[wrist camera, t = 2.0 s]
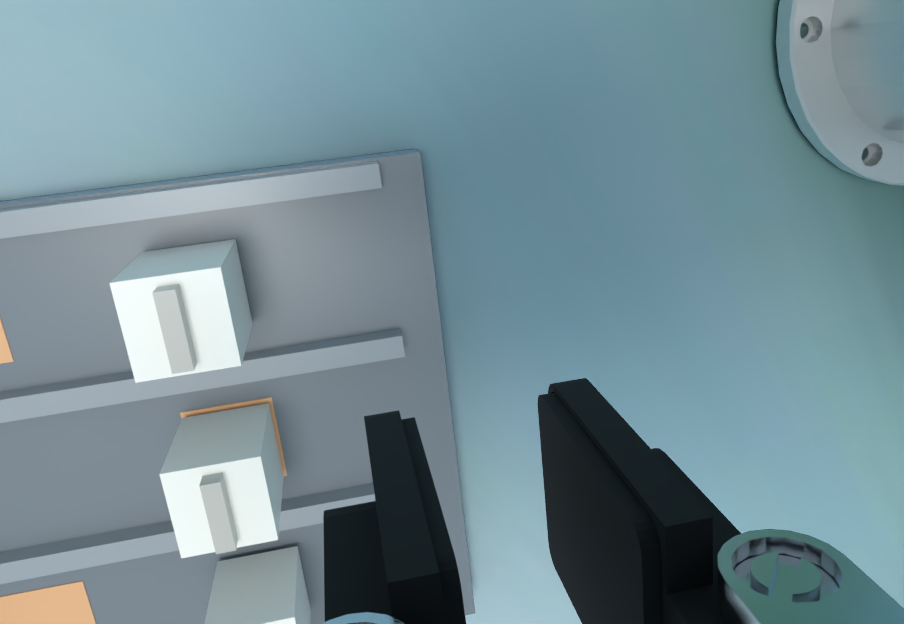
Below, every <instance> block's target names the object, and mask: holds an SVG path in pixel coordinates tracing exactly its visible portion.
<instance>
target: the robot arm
mask: <svg viewBox="0 0 904 624" xmlns="http://www.w3.org/2000/svg"><path fill="white" fill-rule="evenodd" d="M800 28H801V34H800ZM776 48H777V58H778V68H779V76H780V80H781V83H782V87H783V90H784V94H785V97H786V101H787V104H788V107H789V108H790V110H791V112H792V114H793V116H794V118H795V120H796V122H797V124H798V126H799V128H800V130H801V132H802V133H803V134H804V135H805V136H806V138H807V139H808V140H809V141H810V142H811V144H812V145H813V146H814V147H815V148H816V150H817V151H818V152H819V153H820V154H821V155H823V156H824V157H825V158H827V159H828V160H829V161H831V162H832V163H833V164H834V165H836V166H837V167H838V168H840V169H842V170H844V171H846V172H849V173H851V174H853V175H855V176H858V177H860V178H862V179H866V180H871V181H876V182H880V183H885V184H890V185H902V186H904V0H780V2H779V6H778V19H777V34H776ZM538 414H539V426H540V439H541V452H542V464H543V477H544V490H545V503H546V515H547V528H548V541H549V548H550V554H551V558H552V561H553V564H554V567H555V569H556V571H557V573H558V575H559V577H560V579H561V581H562V583H563V585H564V587H565V589H566V592H567V594H568V596H569V598H570V600H571V602H572V604H573V606H574V608H575V610H576V612H577V614H578V616H579V618H580V620H581V622H582V624H904V608H903V607H902V606H900V605H899V604H898V603H897V602H896V601H895V600H894V599H893V598H892V597H890V596H889V595H888V594H887V593H886V592H885V591H884V590H883V589H882V588H881V587H879V586H878V585H877V584H876V583H875V582H874V581H873V580H872V579H871V578H869V577H868V576H867V575H866V574H865V573H864V572H863V571H862V570H861V569H859V568H858V567H857V566H856V565H855V564H854V563H853V562H852V561H851V560H849V559H848V558H847V557H846V556H845V555H844V554H842V553H841V552H839V551H838V550H837V549H835V548H834V547H832V546H831V545H829V544H828V543H825V542H823V541H821V540H818V539H816V538H814V537H812V536H809V535H805V534H801V533H797V532H793V531H787V530H775V529H764V530H754V531H748V532H745V533H742V534H741V533H740V532H739V531H738V530H737V529H736V528H735V527H734V526H733V525H732V523H731V522H730V521H729V520H728V519H727V518H726V517H725V516H724V515H723V514H722V513H721V512H720V511H719V510H718V509H717V507H716V506H715V505H714V504H713V503H712V502H711V501H710V500H709V499H708V498H707V497H706V496H705V495H704V494H703V493H702V492H701V490H700V489H699V488H698V487H697V486H696V485H695V484H694V483H693V482H692V481H691V480H690V479H689V478H688V477H687V476H686V475H685V473H684V472H683V471H682V470H681V469H680V468H679V467H678V466H677V465H676V464H675V463H674V462H673V461H672V460H671V459H670V458H669V456H668V455H667V454H666V453H665V452H663V451H662V450H661V449H658V448H654V449H650V448H649V446H648V445H647V444H646V443H645V442H644V441H643V440H642V439H641V438H640V437H639V435H638V434H637V433H636V432H635V431H634V430H633V429H632V428H631V427H630V426H629V425H628V423H627V422H626V421H625V420H624V419H623V418H622V417H621V416H620V415H619V414H618V412H617V411H616V410H615V409H614V408H613V407H612V406H611V405H610V404H609V403H608V402H607V400H606V399H605V398H604V397H603V396H602V395H601V394H600V393H599V392H598V391H597V389H596V388H595V387H594V386H593V385H592V384H591V383H590V382H589V381H588V380H587V379H586V378H583V379H577V380H571V381H566V382H560V383H554V384H550V386H549V390H548V394H544V395H539V397H538ZM364 421H365V428H366V435H367V443H368V450H369V457H370V464H371V472H372V479H373V486H374V493H375V501H372V502H367V503H361V504H356V505H351V506H345V507H340V508H335V509H329V510H325V511H324V516H323V524H324V602H325V622H324V623H323V624H466V620H465V612H464V604H463V596H462V589H461V583H460V577H459V572H458V567H457V562H456V558H455V554H454V551H453V547H452V544H451V540H450V537H449V533H448V530H447V527H446V523H445V520H444V516H443V513H442V509H441V506H440V502H439V499H438V496H437V492H436V489H435V485H434V482H433V478H432V475H431V471H430V468H429V465H428V461H427V458H426V454H425V451H424V447H423V444H422V440H421V437H420V434H419V430H418V427H417V423H416V420H415V417H413V418H407V419H401V415H400V412H399V410H398V411H392V412H386V413H380V414H375V415H369V416H364Z"/></svg>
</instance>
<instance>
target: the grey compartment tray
mask: <svg viewBox="0 0 904 624" xmlns="http://www.w3.org/2000/svg"><path fill="white" fill-rule="evenodd" d="M232 239H236V244H237V249H238V254H239V259H240V264H241V269H242V274H243V279H244V284H245V288H246V293H247V298H248V303H249V308H250V313H251V318H252V323H253V325H252V329H251V332H250V336H249V340H248V343H247V347H246V351H245V355H244V358H243V362H242V366H237V367H231V368H225V369H219V370H212V371H206V372H200V373H194V374H187V375H181V376H175V377H169V378H162V379H156V380H150V381H144V382H138V383H135V379H134V375H133V372H132V368H131V364H130V360H129V356H128V352H127V349H126V345H125V341H124V337H123V333H122V330H121V326H120V322H119V318H118V314H117V310H116V307H115V303H114V299H113V295H112V291H111V287H110V284H109V283H110V282H111V281H112V280H113V279H114V278H115V277H116V276H117V275H118V274H119V273H120V272H121V271H122V270H123V269H125V268H126V267H127V266H128V265H129V264H130V263H131V262H132V261H133V260H134V259H135V258H136V257H137V256H138V255H139V254H140V253H141V252H145V251H153V250H160V249H167V248H174V247H182V246H189V245H196V244H203V243H210V242H218V241H225V240H232ZM268 403H269V407H270V412H271V417H272V422H273V427H274V432H275V437H276V442H277V446H278V451H279V456H280V461H281V466H282V471H283V476H284V479H283V491H282V503H281V514H280V526H279V537H278V540H275V541H270V542H265V543H260V544H254V545H249V546H244V547H239V548H236V551H231V552H226V553H220V554H216V552H213V553H207V554H202V555H197V556H192V557H186V558H181V555H180V551H179V548H178V544H177V540H176V536H175V532H174V528H173V525H172V521H171V517H170V513H169V509H168V506H167V502H166V498H165V494H164V490H163V486H162V483H161V479H160V475H159V474H160V471H161V469H162V467H163V464H164V462H165V459H166V457H167V454H168V452H169V449H170V447H171V444H172V442H173V439H174V437H175V435H176V432H177V430H178V427H179V425H180V422H181V420H182V418H184V417H190V416H196V415H202V414H208V413H214V412H220V411H226V410H232V409H238V408H244V407H250V406H256V405H262V404H268ZM398 410H399V412H400V415H401V419H407V418H413V417H415V420H416V423H417V427H418V430H419V434H420V437H421V440H422V444H423V447H424V451H425V454H426V458H427V461H428V465H429V468H430V471H431V475H432V478H433V482H434V485H435V489H436V492H437V496H438V499H439V502H440V506H441V509H442V513H443V516H444V520H445V523H446V527H447V530H448V533H449V537H450V540H451V544H452V547H453V551H454V554H455V558H456V562H457V567H458V572H459V577H460V583H461V589H462V596H463V604H464V612H465V615H468V614H473V613H475V607H474V599H473V590H472V582H471V573H470V565H469V557H468V548H467V540H466V531H465V523H464V514H463V506H462V498H461V489H460V481H459V472H458V464H457V456H456V447H455V439H454V430H453V422H452V414H451V405H450V397H449V388H448V380H447V372H446V363H445V355H444V346H443V338H442V330H441V321H440V313H439V304H438V296H437V288H436V279H435V271H434V262H433V254H432V246H431V237H430V229H429V220H428V212H427V204H426V195H425V187H424V178H423V170H422V162H421V153H420V152H419V151H417V150H416V149H410V150H402V151H394V152H386V153H378V154H370V155H362V156H354V157H346V158H339V159H331V160H323V161H315V162H307V163H299V164H291V165H283V166H276V167H268V168H260V169H252V170H244V171H236V172H228V173H220V174H213V175H205V176H197V177H189V178H181V179H173V180H165V181H157V182H149V183H142V184H134V185H126V186H118V187H110V188H102V189H94V190H86V191H79V192H71V193H63V194H55V195H47V196H39V197H31V198H23V199H15V200H8V201H0V624H204V623H205V618H206V613H207V608H208V604H209V599H210V594H211V589H212V585H213V580H214V575H215V570H216V566H217V562H218V561H223V560H228V559H233V558H239V557H244V556H249V555H254V554H259V553H264V552H270V551H275V550H280V549H285V548H290V547H295V546H298V550H299V555H300V560H301V565H302V570H303V575H304V580H305V585H306V590H307V595H308V600H309V605H310V609H311V624H323V623H324V622H325V602H324V524H323V516H324V511H325V510H329V509H335V508H340V507H345V506H351V505H356V504H361V503H367V502H372V501H375V493H374V486H373V479H372V472H371V464H370V457H369V450H368V443H367V435H366V428H365V421H364V416H369V415H375V414H380V413H386V412H392V411H398Z"/></svg>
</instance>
